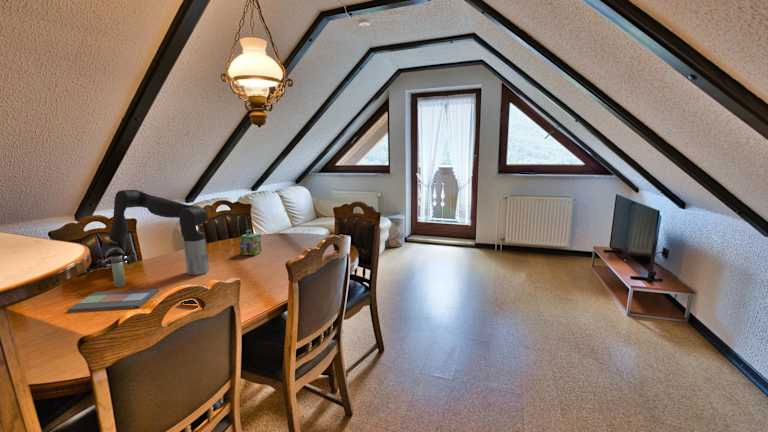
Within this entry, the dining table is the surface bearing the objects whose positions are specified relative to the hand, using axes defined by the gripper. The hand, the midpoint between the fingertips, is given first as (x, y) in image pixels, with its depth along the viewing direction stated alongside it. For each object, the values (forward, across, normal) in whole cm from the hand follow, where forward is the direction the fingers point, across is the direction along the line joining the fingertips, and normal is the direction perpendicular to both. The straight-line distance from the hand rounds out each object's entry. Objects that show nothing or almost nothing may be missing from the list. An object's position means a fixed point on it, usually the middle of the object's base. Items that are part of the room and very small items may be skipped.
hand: (117, 264), depth 158 cm
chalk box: (-3, +63, +7) cm, 63 cm away
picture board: (+30, -2, +7) cm, 31 cm away
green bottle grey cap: (+10, 0, +7) cm, 13 cm away
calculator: (+52, +26, +8) cm, 59 cm away
